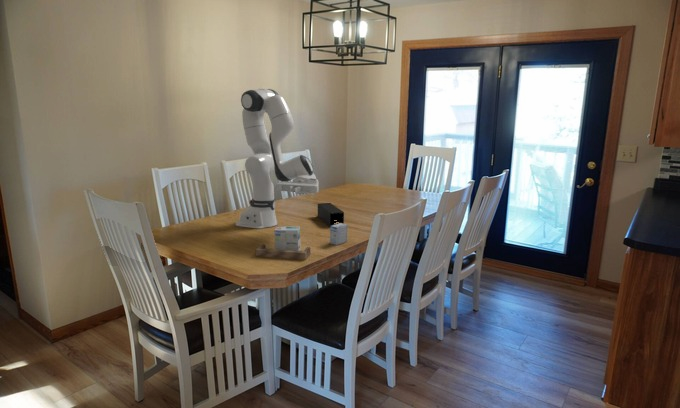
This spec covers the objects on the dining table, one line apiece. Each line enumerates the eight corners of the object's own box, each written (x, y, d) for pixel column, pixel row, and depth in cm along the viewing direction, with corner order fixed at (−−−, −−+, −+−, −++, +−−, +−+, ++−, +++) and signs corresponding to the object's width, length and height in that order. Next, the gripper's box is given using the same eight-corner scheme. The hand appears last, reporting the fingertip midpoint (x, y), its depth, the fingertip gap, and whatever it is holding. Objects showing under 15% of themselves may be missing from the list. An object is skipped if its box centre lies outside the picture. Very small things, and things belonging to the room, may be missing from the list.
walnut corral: (256, 256, 189) (255, 249, 188) (262, 250, 197) (262, 244, 196) (305, 259, 185) (305, 253, 184) (310, 253, 193) (310, 247, 192)
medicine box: (340, 239, 214) (340, 222, 212) (347, 241, 211) (347, 224, 209) (329, 243, 208) (329, 225, 206) (337, 245, 205) (337, 227, 203)
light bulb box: (300, 248, 200) (300, 225, 197) (298, 253, 193) (298, 230, 191) (277, 248, 200) (276, 225, 198) (274, 253, 193) (273, 229, 191)
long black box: (330, 213, 234) (316, 202, 260) (330, 227, 236) (316, 215, 262) (344, 212, 237) (328, 201, 263) (344, 226, 239) (328, 214, 264)
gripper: (280, 177, 215) (271, 182, 202) (321, 179, 211) (314, 184, 198) (281, 190, 217) (271, 195, 204) (321, 192, 213) (314, 198, 200)
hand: (292, 190), depth 201 cm, fingers closed
